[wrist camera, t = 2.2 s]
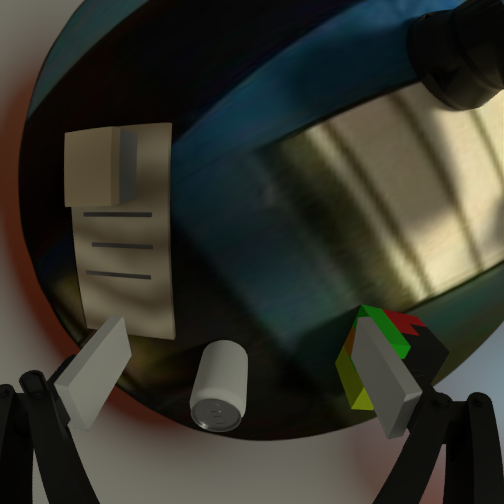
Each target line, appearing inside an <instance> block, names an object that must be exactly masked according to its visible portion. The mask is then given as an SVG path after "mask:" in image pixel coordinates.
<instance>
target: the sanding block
mask: <svg viewBox="0 0 504 504" xmlns="http://www.w3.org/2000/svg"><path fill="white" fill-rule="evenodd" d="M137 140H138V133H137V132H133V131H129V130H125V129H121V128H116V127H104V128H96V129H88V130H81V131H75V132H68V133H65V151H64V190H65V207H82V206H113V205H116V204H119V203H123V202H126V201H129V200H133V199H136V198H137Z"/></svg>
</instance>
